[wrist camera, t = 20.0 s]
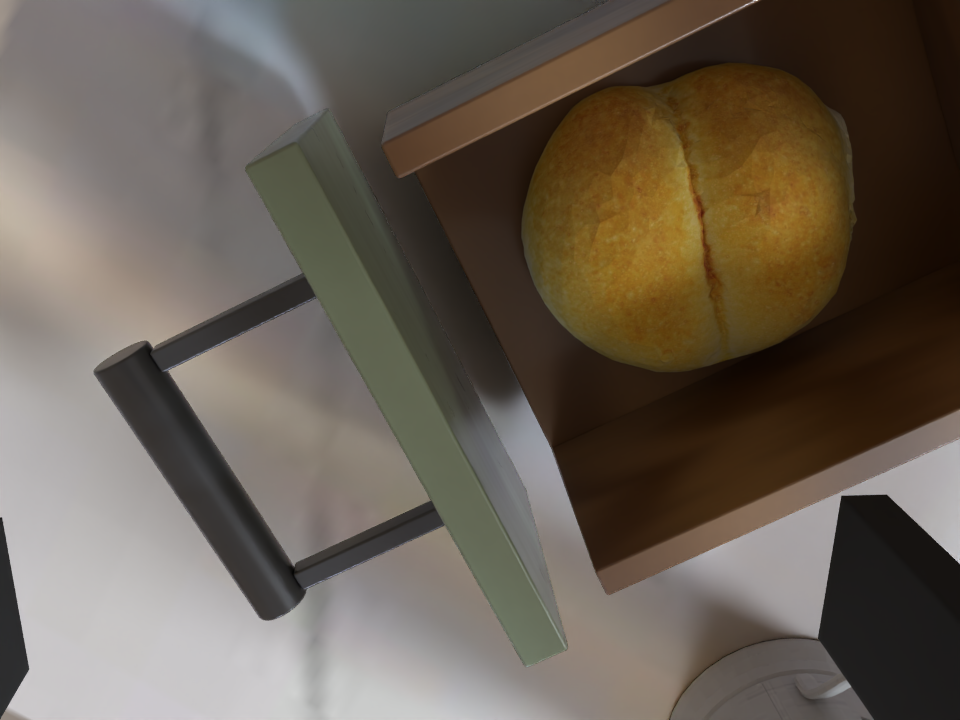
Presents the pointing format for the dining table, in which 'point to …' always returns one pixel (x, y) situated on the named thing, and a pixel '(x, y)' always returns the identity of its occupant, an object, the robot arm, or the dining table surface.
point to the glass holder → (772, 686)
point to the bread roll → (691, 216)
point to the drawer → (566, 360)
